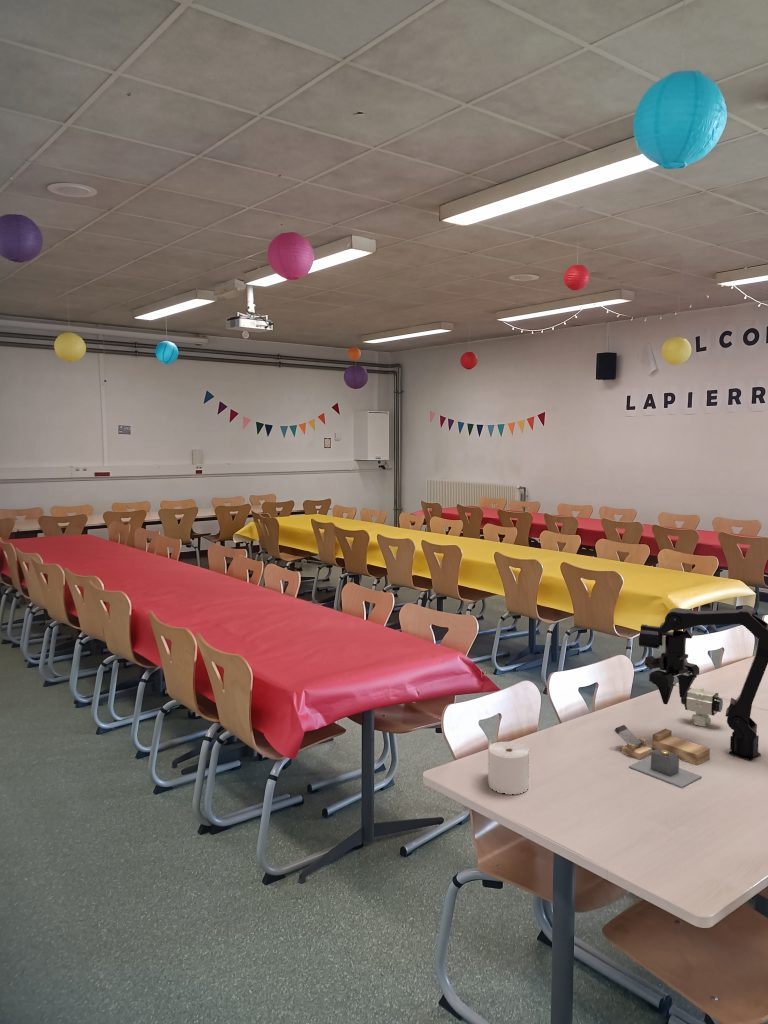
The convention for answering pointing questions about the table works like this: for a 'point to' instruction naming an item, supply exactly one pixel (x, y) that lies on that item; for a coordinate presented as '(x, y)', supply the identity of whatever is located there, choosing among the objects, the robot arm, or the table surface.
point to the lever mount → (637, 750)
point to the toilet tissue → (508, 767)
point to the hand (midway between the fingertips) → (673, 700)
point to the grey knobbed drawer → (664, 762)
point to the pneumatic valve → (702, 705)
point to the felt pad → (678, 779)
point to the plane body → (680, 747)
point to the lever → (628, 736)
